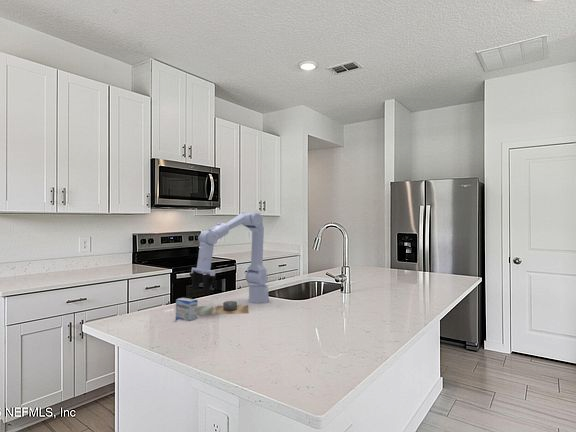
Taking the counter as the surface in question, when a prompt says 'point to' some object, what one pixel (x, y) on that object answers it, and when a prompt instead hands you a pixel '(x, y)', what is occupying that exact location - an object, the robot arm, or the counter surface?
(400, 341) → the counter surface
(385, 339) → the counter surface
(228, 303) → the puck
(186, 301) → the medicine box
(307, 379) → the counter surface
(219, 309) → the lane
